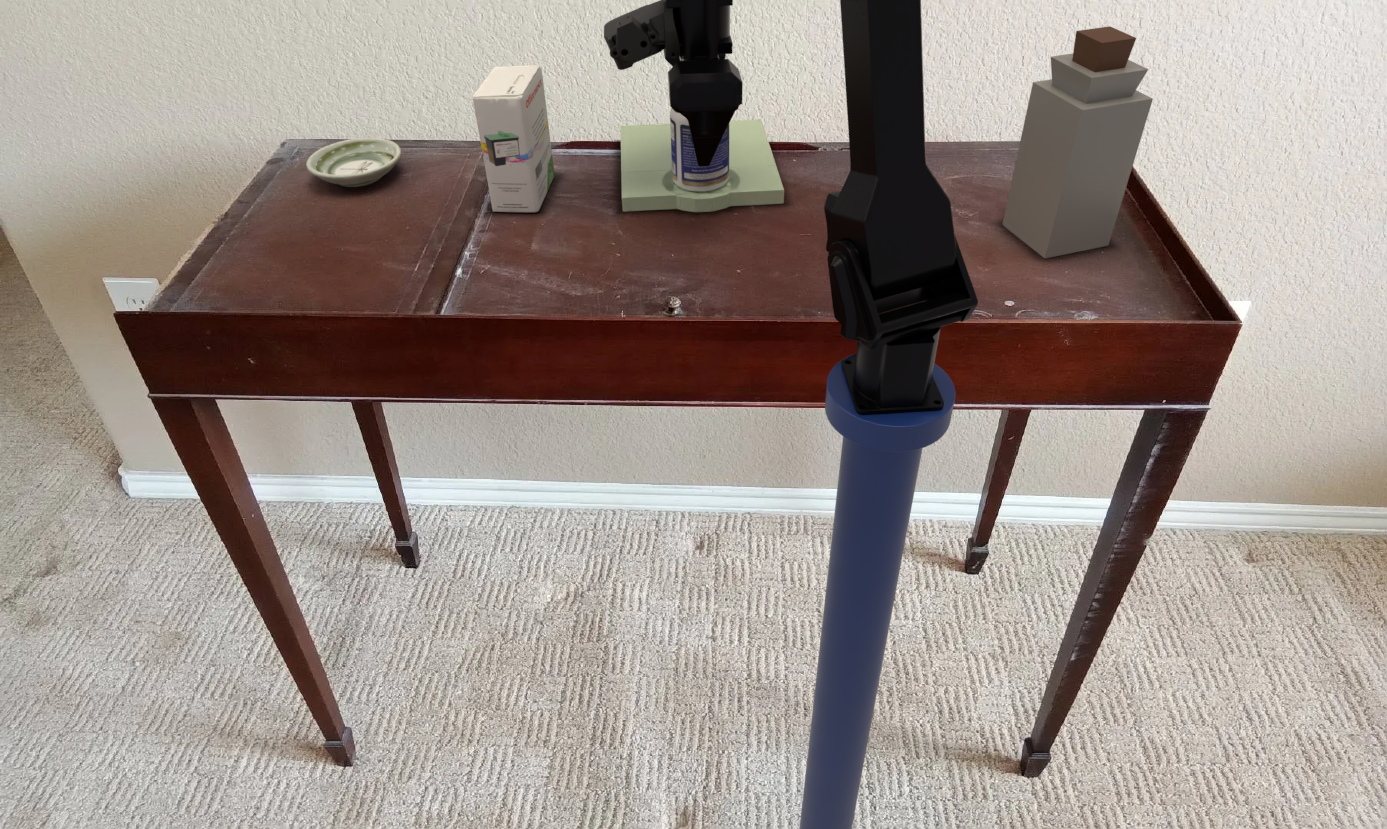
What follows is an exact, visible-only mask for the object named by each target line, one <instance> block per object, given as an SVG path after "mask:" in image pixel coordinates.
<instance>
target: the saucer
mask: <svg viewBox="0 0 1387 829" xmlns="http://www.w3.org/2000/svg"><path fill="white" fill-rule="evenodd" d="M401 157H402V149H401V147H400V145H398V143H396V142H394V141H392V140H389V139H386V138H380V137H379V138H378V137H359V138H351V139H345V140H341V141H340V140H339V141H338V142H334V143H331V144H328V145H325V146H323V147H321V148H319V149H318V150H316V151H314V152H313V153H312V154H310V156H309V157H308V158H307V160H306V162H305V163H306V169H307V171H308V172H309V173H310V174H311V175H313V176H314V177H316V178H318V179H320V180H322V181H324V182H327V183H331V184H333V185H339V186H341V187H347V188H358V187H364V186H365V187H366V186H368V185H371V184H373V183H376V182H377V181H380V180H381V179H382V178H383V176H385V175H387V174H388V173H389V172H390V171H391V170H392V169H393V168H394V167H395V166H396V165H397V163H398V162H399V161H400V160H401Z"/></svg>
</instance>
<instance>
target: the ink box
mask: <svg viewBox="0 0 1387 829" xmlns="http://www.w3.org/2000/svg"><path fill="white" fill-rule="evenodd" d="M472 103H473V109H474V113H475V114H474V115H475V119H476V125H477V130H478V135H479V141H480V147H481V152H482V153H481V154H482V159H483V163H484V169H485V174H486V175H485V176H486V180H487V186H488V192H489V193H488V194H489V198H490V204H491V209H492V212H494V213H538V212H539V211H540V209H541V207H542V205H543V203H544V201H545V198H546V196H547V193H548V192H549V189H550V187H551V185H552V182H553V181H554V178H555V166H554V159H553V150H552V144H551V135H550V126H549V119H548V111H547V110H548V109H547V103H546V94H545V86H544V77H543V69H542V66H540V65H538V64H524V65H522V64H521V65H505V66H503V65H502V66H501V65H500V66H493V68H492V69H491V71H490V72H489V74H488V75H487V76H486V78H485V79H484V81H483V82H482V83H481V84H480V86H479V87H478V88H477V89H476V91H475V93H474V94H473V95H472Z"/></svg>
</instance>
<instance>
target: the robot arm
mask: <svg viewBox="0 0 1387 829" xmlns="http://www.w3.org/2000/svg"><path fill="white" fill-rule="evenodd" d="M839 2H840V18H841V33H842V34H841V35H842V49H843V52H842V53H843V65H844V66H843V68H844V79H845V80H844V83H845V98H846V99H845V100H846V114H847V128H848V129H847V132H848V143H849V144H848V145H849V146H848V147H849V161H850V164H849V165H850V166H849V167H850V168H849V172H848V175H847V177H846V179H845V180H844V182H843V185H842V188H841V189H840V190H839V191H838V190H837V191H834V192H831V193H828V194H827V195H826V198H825V202H824V206H823V210H824V211H823V212H824V216H825V222H826V238H827V239H826V244H825V250H826V252H827V253H828V254H827V258H826V259H827V267H828V278H829V286H830V295H831V296H830V297H831V303H832V304H831V305H832V310H833V316H834V319H835V320H836V321H837V322H838V323H839V324H840V333H839V334H840V335H841V337H843V339H845V340H851V341H854V342H857V345H856V352H855V354H856V358H847V359H844V358H843V359H841V360H842V364H841V367H842V370H843V374H844V377H845V380H846V383H847V386H848V389H849V392H850V395H851V398H852V401H853V404H854V407H855V411H856V412H857V413H858V414H859V415H877V414H894V413H911V412H928V411H940V410H942V409H943V407H944V401H943V399H942V396H941V394H940V392H939V390H938V387H937V385H936V383H935V381H934V378H933V376H932V373H933V368H934V364H935V362H936V356H937V351H938V346H939V340H940V334H941V328H942V327H945V326H948V325H952V324H954V323H958V322H960V323H963V322H967V321H969V320H970V318H971V316H972V315H973V313H974V311H975V310H976V308H977V306H978V305H979V300H978V297H977V294H976V291H975V289H974V286H973V282H972V280H971V277H970V274H969V271H968V268H967V265H966V263H965V259H964V257H963V254H962V250H961V247H960V245H959V243H958V239H957V237H956V234H955V227H954V218H953V211H952V210H953V208H952V203H951V200H950V198H949V195H947V193H946V192H945V190H944V189H943V187H942V186H941V184H940V183H939V181H938V180H937V178H936V177H935V175H934V174H933V172H932V170H930V168H929V167H928V166H929V165H927V164H928V163H927V156H926V127H925V126H926V125H925V124H926V123H925V93H924V92H925V91H924V88H925V87H924V58H923V57H924V55H923V28H922V27H923V24H922V22H923V20H922V0H839ZM733 5H734V1H733V0H657V1H655V2H652V3H650V4H645V5H642V6H640V7H638V8H636V9H634V10H630V11H629V12H627V13H624V14H621V15H620V16H617V17H614V18H613V19H611V20H608V21H607V22H606V23H605V24H604V26H603V39H604V41H605V43H606V45H607V48H608V50H609V55H610V57H611V58H612V59H613V61H614V63H615V66H616V68H617V70H619V71H624V70H627V69H630V68H632V67H633V65H634V64H636V63H638V62H640V61H642V60H645V59H647V58H650V57H652V56H654V55H657V54H659V53H661V52H662V51H663V56H664V59H665V61H666V62H668V64H669V65H670V66H671V68H670V69H669V70H668V71H667V83H668V84H667V86H668V98H669V105H670V108H672V109H673V110H674V111H675V112H677V113H680V114H681V115H683V116H684V117H685V118H686V119H687V120H688V123H689V127H690V132H691V136H692V141H693V145H694V150H695V154H696V159H697V163H698V166H700V167H703V166H709V165H710V164H711V161H712V159H713V157H714V155H715V153H716V150H717V148H718V146H719V144H720V141H721V139H722V137H723V135H724V133H725V131H726V129H727V127H728V125H729V123H730V121H732V118H733V117H734V115H735V113H736V111H737V110H739V108H740V106H741V105H743V86H744V85H743V84H744V83H743V80H742V76H741V73H740V69H739V68H738V67H737V66H736V65H735V64H734V63H733V62H732V61H731V60H730V59H729V58H726V57H727V55H732V54H733V40H732V36H731V6H733Z"/></svg>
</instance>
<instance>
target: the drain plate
mask: <svg viewBox="0 0 1387 829" xmlns="http://www.w3.org/2000/svg"><path fill="white" fill-rule="evenodd" d="M619 129H620V177H621V180H620V182H621V184H620V185H621V208H622V209H621V210H622V212H641V211H645V212H646V211H660V210H661V211H662V210H663V211H664V210H680V211H682V212H689V213H712V212H717V211H721V210H724V209H728V208H730V207H741V206H742V207H743V206H765V205H782V204H785V203H784V202H785V188H784V185H783V182H782V179H781V176H780V173H779V170H778V167H777V164H776V163H777V162H776V160H775V156H774V155H773V152H772V148H771V145H770V142H769V139H768V136H767V133H766V130H765V127H764V123H763V120H762V119H742V120H741V119H740V120H739V119H737V120H731V121H730V123H729V179H728V181H727V183H726V184H725V185H723V186H722V187H720V188H718V189H715V190H711V191H703V192H696V191H689V190H685V189H682V188H680V187H679V186H677V185H676V184H675V183H674V181H673V176H672V156H671V128H670V123H653V124H652V123H651V124H631V125H620V128H619Z"/></svg>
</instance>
